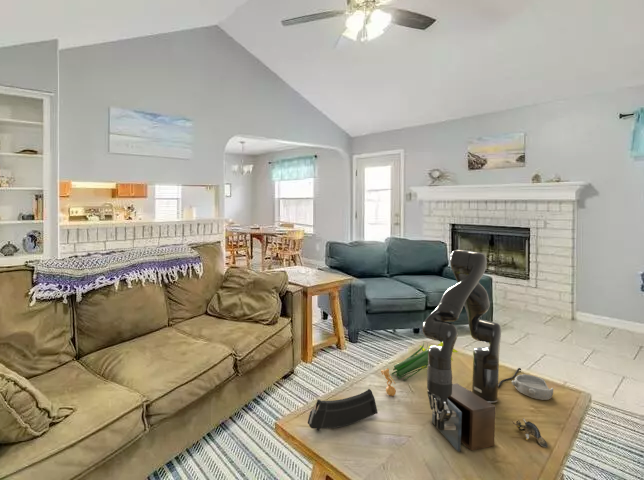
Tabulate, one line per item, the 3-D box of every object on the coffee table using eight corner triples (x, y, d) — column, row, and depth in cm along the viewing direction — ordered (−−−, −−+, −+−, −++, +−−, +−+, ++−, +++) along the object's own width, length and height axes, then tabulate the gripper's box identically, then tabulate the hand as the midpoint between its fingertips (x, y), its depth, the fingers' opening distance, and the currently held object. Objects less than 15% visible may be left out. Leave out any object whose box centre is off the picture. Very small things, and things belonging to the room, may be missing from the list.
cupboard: (471, 450, 127) (472, 410, 127) (434, 422, 143) (435, 386, 142) (494, 445, 130) (495, 406, 130) (455, 418, 146) (457, 383, 145)
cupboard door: (442, 451, 127) (443, 411, 126) (418, 422, 143) (419, 386, 142) (460, 451, 127) (461, 412, 126) (434, 422, 143) (435, 387, 142)
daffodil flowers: (380, 369, 187) (432, 342, 198) (402, 396, 176) (455, 366, 187) (388, 350, 177) (442, 323, 188) (412, 378, 166) (467, 347, 177)
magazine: (377, 388, 149) (317, 380, 138) (383, 392, 146) (323, 384, 135) (366, 431, 148) (305, 427, 137) (372, 436, 145) (310, 432, 134)
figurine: (401, 399, 158) (402, 371, 158) (389, 401, 156) (390, 373, 156) (388, 389, 166) (388, 363, 166) (376, 391, 164) (377, 364, 164)
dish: (535, 384, 172) (535, 373, 172) (562, 401, 159) (563, 389, 158) (504, 384, 172) (505, 373, 172) (529, 401, 158) (530, 389, 158)
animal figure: (510, 433, 135) (539, 443, 127) (512, 412, 138) (541, 421, 130) (521, 440, 138) (550, 450, 130) (523, 419, 140) (552, 429, 133)
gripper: (461, 389, 121) (461, 441, 121) (441, 368, 135) (440, 416, 135) (437, 388, 121) (437, 440, 122) (419, 368, 135) (419, 415, 136)
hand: (439, 427), depth 129 cm, fingers closed
